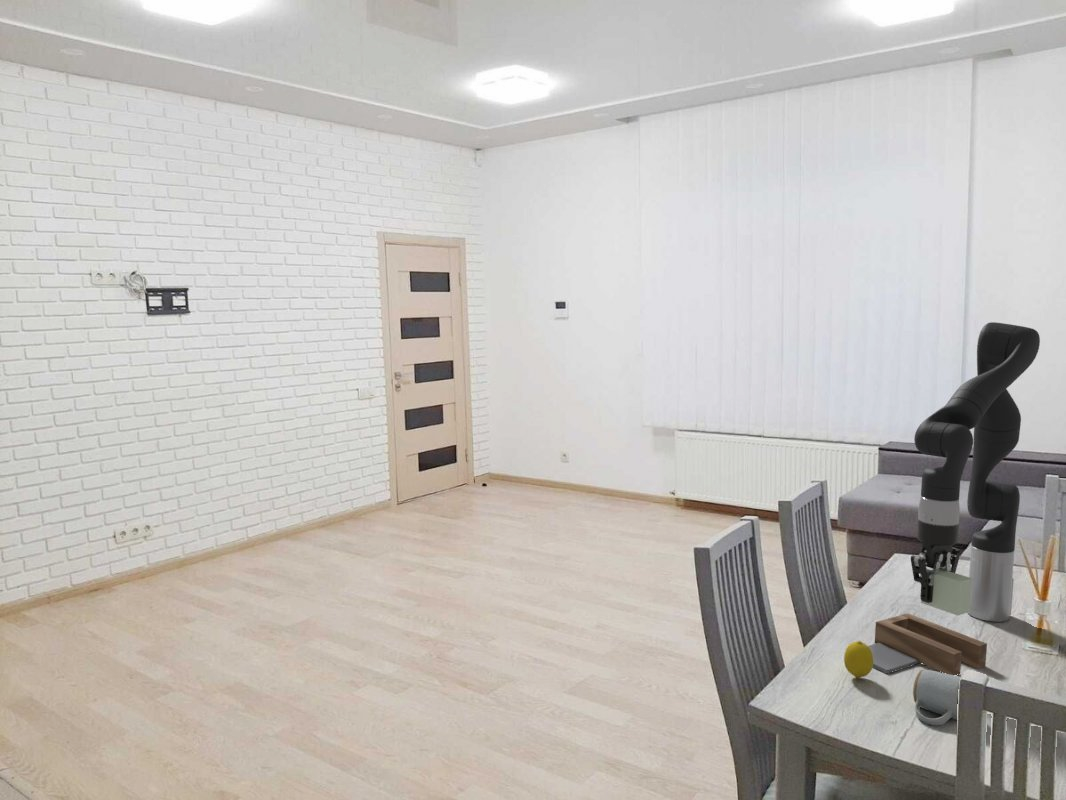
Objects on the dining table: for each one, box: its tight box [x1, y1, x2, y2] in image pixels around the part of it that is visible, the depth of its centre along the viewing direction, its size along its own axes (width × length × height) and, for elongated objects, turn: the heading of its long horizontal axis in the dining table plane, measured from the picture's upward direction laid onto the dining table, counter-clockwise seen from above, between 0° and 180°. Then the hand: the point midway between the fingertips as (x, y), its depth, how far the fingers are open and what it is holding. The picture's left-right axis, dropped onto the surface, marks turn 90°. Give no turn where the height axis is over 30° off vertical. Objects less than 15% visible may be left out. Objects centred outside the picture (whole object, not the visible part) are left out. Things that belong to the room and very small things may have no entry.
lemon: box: [843, 640, 874, 679], centre depth 165 cm, size 6×6×8 cm
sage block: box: [920, 568, 972, 616], centre depth 165 cm, size 4×8×7 cm, turn 31°
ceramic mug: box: [912, 669, 962, 726], centre depth 151 cm, size 11×8×8 cm
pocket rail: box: [874, 612, 988, 676], centre depth 177 cm, size 11×19×5 cm, turn 28°
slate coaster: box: [867, 643, 919, 674], centre depth 174 cm, size 10×10×1 cm
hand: (933, 599), depth 167 cm, fingers closed on sage block, 4 cm apart
